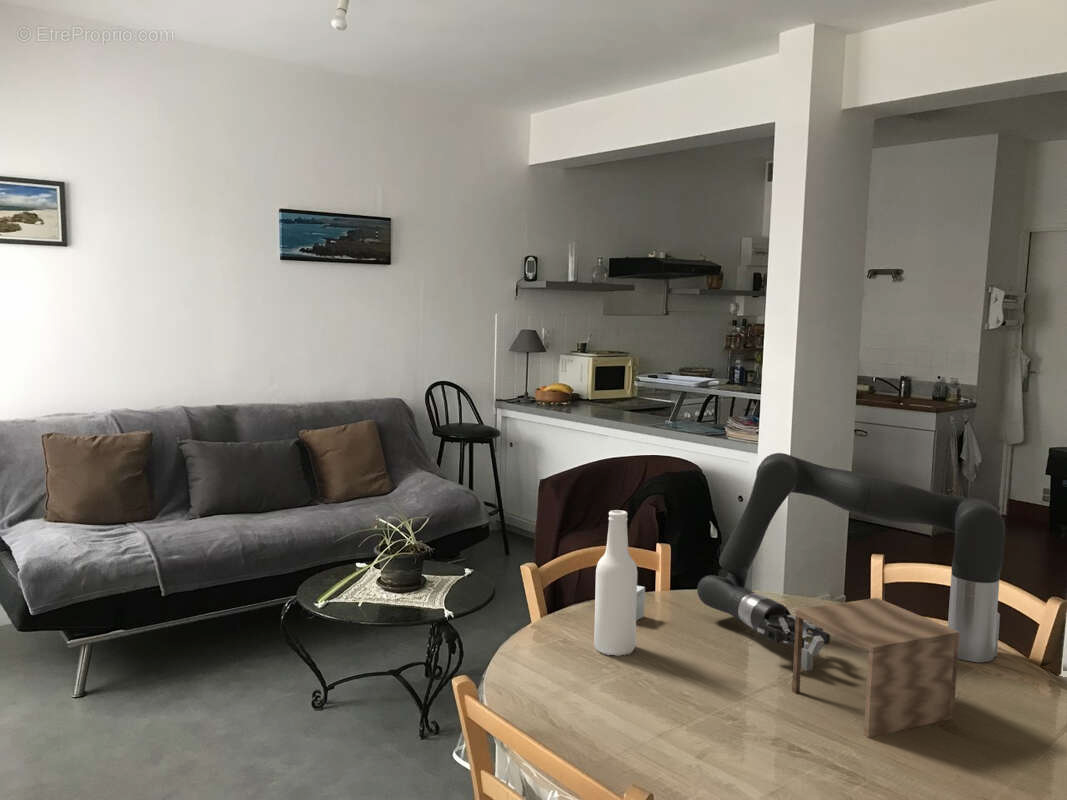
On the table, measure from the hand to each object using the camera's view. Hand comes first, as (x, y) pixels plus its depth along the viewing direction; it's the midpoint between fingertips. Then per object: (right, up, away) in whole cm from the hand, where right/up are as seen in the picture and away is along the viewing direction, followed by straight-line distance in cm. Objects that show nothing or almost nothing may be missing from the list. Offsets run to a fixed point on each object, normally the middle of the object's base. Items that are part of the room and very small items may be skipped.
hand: (815, 641), depth 182 cm
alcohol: (-40, -5, +11) cm, 41 cm away
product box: (-35, -3, +31) cm, 47 cm away
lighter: (-1, -7, +2) cm, 7 cm away
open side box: (+6, -8, -13) cm, 17 cm away
